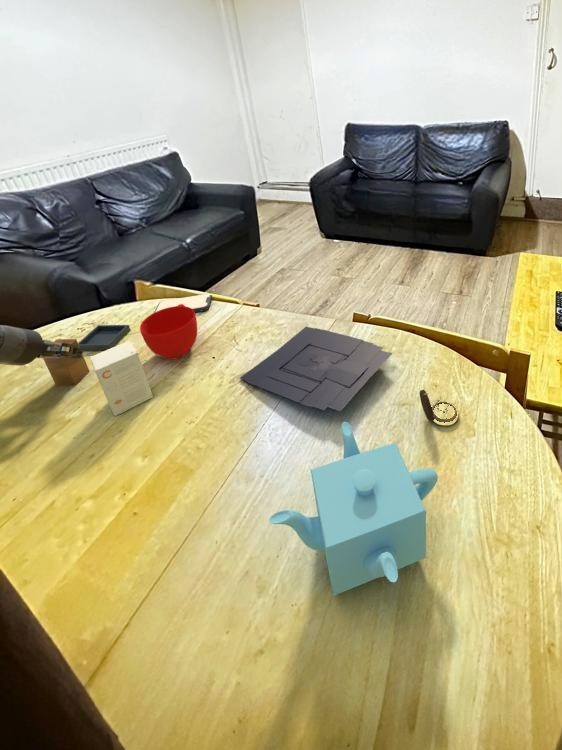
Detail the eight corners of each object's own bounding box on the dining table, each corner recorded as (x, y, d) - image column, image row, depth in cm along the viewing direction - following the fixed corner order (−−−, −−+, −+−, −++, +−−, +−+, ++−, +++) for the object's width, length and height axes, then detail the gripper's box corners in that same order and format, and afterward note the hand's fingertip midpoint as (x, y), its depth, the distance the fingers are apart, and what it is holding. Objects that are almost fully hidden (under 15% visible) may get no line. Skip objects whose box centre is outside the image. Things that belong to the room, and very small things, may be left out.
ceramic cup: (212, 325, 120) (204, 296, 116) (195, 364, 105) (186, 332, 101) (165, 330, 119) (156, 300, 115) (142, 370, 103) (130, 338, 99)
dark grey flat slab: (337, 428, 83) (333, 414, 82) (241, 388, 99) (237, 375, 98) (397, 358, 102) (395, 345, 101) (308, 334, 118) (306, 323, 117)
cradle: (77, 351, 111) (75, 345, 111) (100, 330, 120) (98, 325, 119) (110, 350, 111) (108, 345, 110) (130, 330, 119) (128, 324, 119)
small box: (145, 383, 99) (130, 339, 94) (153, 397, 95) (138, 352, 89) (107, 402, 94) (88, 356, 89) (114, 417, 90) (94, 370, 84)
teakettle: (443, 513, 68) (445, 450, 62) (397, 647, 53) (394, 580, 47) (345, 470, 76) (339, 411, 70) (280, 576, 61) (265, 512, 55)
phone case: (153, 320, 124) (208, 311, 127) (151, 316, 123) (207, 306, 126) (161, 304, 132) (213, 296, 135) (159, 300, 131) (212, 292, 134)
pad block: (55, 385, 100) (40, 352, 95) (70, 371, 104) (56, 339, 100) (75, 385, 99) (60, 352, 95) (89, 371, 104) (76, 339, 100)
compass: (464, 423, 85) (465, 396, 82) (427, 432, 83) (427, 405, 80) (448, 395, 92) (449, 369, 89) (415, 403, 90) (414, 377, 87)
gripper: (46, 326, 86) (102, 337, 102) (-20, 327, 87) (46, 338, 103) (35, 364, 83) (94, 369, 99) (-33, 364, 84) (37, 369, 100)
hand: (69, 353), depth 101 cm, fingers closed on pad block, 5 cm apart
